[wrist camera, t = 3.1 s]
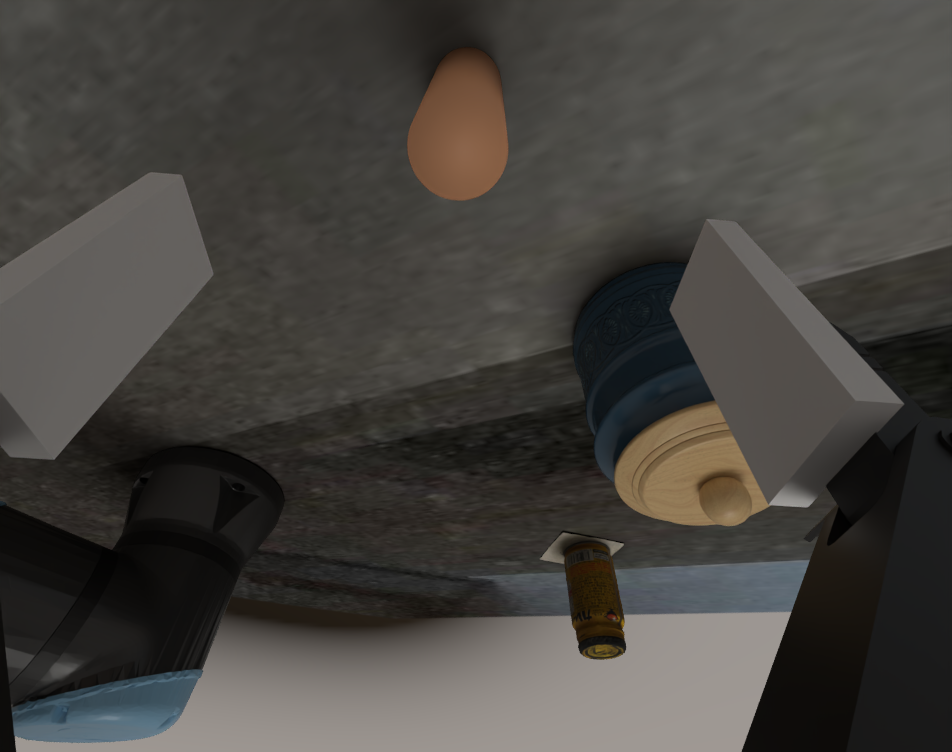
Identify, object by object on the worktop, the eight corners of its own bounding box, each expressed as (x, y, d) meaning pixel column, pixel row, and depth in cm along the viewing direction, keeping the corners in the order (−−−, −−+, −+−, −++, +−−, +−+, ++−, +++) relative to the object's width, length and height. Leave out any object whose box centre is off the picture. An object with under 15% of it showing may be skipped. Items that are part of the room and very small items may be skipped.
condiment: (597, 568, 65) (614, 666, 56) (539, 557, 64) (548, 657, 55) (624, 542, 61) (648, 644, 52) (562, 529, 59) (576, 633, 50)
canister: (551, 377, 43) (580, 566, 29) (601, 243, 34) (674, 424, 21) (688, 397, 44) (775, 587, 31) (769, 273, 36) (937, 461, 22)
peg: (432, 122, 29) (408, 196, 20) (433, 43, 27) (406, 88, 18) (497, 128, 29) (502, 204, 20) (505, 50, 27) (514, 97, 18)
